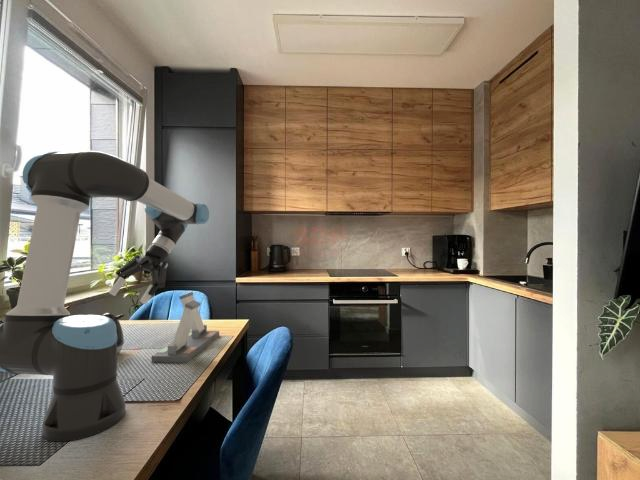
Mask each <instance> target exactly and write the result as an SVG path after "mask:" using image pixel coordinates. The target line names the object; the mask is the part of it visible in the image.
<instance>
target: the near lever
mask: <svg viewBox="0 0 640 480" xmlns="http://www.w3.org/2000/svg"><path fill="white" fill-rule="evenodd" d="M200 306H201V302H199V301H196V300H195V301H194V300H193V301H191V302H188V303H186V304H185V309H184V308H183V312H182V315H181V318H180V321H179V323H178V327H177V329H176V332H175V335H174V337H173V341H172V342H171V344H172V345H176V351H177V350H178V349H180V348H181V347H183V346H184V345H185V344H186V341H187V338H188V336H189V333H190V332H191V331H192V330H191V327H192V324H193V322H194V319H195V316H196V313H197V310H198V311H199V307H200Z"/></svg>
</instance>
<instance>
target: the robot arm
mask: <svg viewBox="0 0 640 480" xmlns="http://www.w3.org/2000/svg"><path fill="white" fill-rule="evenodd" d="M22 169H23V170H22V181H23V183H24V184H25V185H26V186H25V188H26V190H27V191H28V192H30V194H31V195H30V201H32V203H34V204H35V205H36V206H35V207H36V211H35V217H34V221H33V225H32V230H31V235H30V240H29V244H28V248H27V254H26V259H25V264H24V269H23V272H22V273H23V274H22V278H21V279H22V280H21V284H20V288H19V293H18V298H17V302H16V303H17V304H16V305H15V307H13V308H12V309H11V310H9V311H7V312H6V313H5V315H4V316H5V317H4V321H3V322H1V323H0V372H3V373H8V374H13V375H38V376H39V375H40V376H41V375H42V376H52V380H53V381H52V383H53V384H52V391H53V392H52V397H51V400H50V403H49V405H48V408H47V410H46V412H45V413H46V414H45V416H44V418H43V420H42V437H43V438H44V439H46V440H47V441H51V442H70V441H76V440H81V439H83V438H87V437H91V436H93V435H96V434H99V433H101V432H104V431H105V430H107V429H109V428H111V427H112V426H114V425H116V424H117V423H118V422H119V421H121V420H122V419H123V418H124V416H125V414H126V400H125V397H124V395H123V393H122V390H121V388H120V386H119V382H118V379H117V377H118V376H117V371H118V368H117V367H118V366H117V365H118V364H117V363H118V353H117V339H118V337H117V332H116V324H115V322H114V321H113V320H112V319H111V318H109V317H106V316H101V315H102V314H101V315H99V314H74V315H71V312H70V311H69V310H68V309H67V308H66V306H65V301H66V297H67V291H68V286H69V285H68V284H69V280H70V272H71V269H72V262H73V256H74V252H75V251H74V250H75V246H76V241H77V235H78V229H79V223H80V217H81V214H82V213H83V212H86V211H87V210H88V209H89V207H90V203H91V202H90V201H91V199H92V198H117V199H118V198H119V199H122V200H124V201H126V202H138V203H140V204H143V205H145V206H144V212H145V214H146V215H147V216H148V218H149V219H150V220H151V221H152V222H153V223H154V224H155V226H156V227H157V228H158V229H159V232H158V234H157V235H156V236H155V238H154V239H153V241H152V242H151V244H150V245H149V246H148V248H147V249H146V251H145V255H144V256H143V257H142V256H140V255H138V254H137V255H135V256H134V257H133V259H131V260H130V261H129V262H127V263H126V264H125V265H123V266H122V267H120V268H119V269H118V270H116V272H115V274H116V276H117V278H116V279H115V281H114V282H113V286H112V287H111V288H110V290H109V291H108V293H109V294H111V296H113V297H116V296H117V294H118V292H119V291H120V290H121V288H122V287H123V285H124V284H125V283H126V282H127V281H126V279H127V278H129V277H131V276H133V275H135V274H137V273H138V272H141V271H146V272H147V271H148V272H149V273H151V279H152V280H151V281H152V283H151V284H149V286H148V287H147V289H146V291H145V292H144V293H143V294H142V297H141V299H139V302H140V303H142V304H143V305H147V303H148V301H149V300H150V299H151V298H152V297H153V296H154V295H155V293H156V292H157V291H158V289H159V288H160V289H161V288H162V289H164V288H165V287H166V282H167V281H166V279H167V270H168V269H169V267H170V265H169V264H168V262H166V260H167V258H168V257H169V254H171V252H172V250H173V249H174V248H175V246H176V245H177V243H178V241H179V240H180V238H181V237H182V235H183V234H184V233H185V232H186V229H187V227H188V225H203V224H207V223H208V221H209V218H210V210H209V207H208V205H206V204H205V203H193V202H191V201H190V200H188V199H186V198H185V197H182V196H181V195H179V194H178V193H176V192H174V191H173V190H170V189H169V188H167V187H166V186H163V185H162V184H160V183H159V182H157V181H155V180H153V179H152V178H150V177H149V174H148V173H147V172H146V171H145V170H144V169H142V168H140V167H138V166H136V165H135V164H133V163H130V162H128V161H127V160H125V159H123V158H120V157H118V156H115V155H113V154H109V153H106V152H103V151H97V150H96V151H95V150H87V151H86V150H85V151H63V152H62V151H49V152H46V153H39V154H37V155H33V157H31V158H29V160H28V161H26V163H25V165H24V167H23V168H22Z"/></svg>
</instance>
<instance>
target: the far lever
mask: <svg viewBox="0 0 640 480" xmlns="http://www.w3.org/2000/svg"><path fill="white" fill-rule="evenodd" d="M178 298H179V300H180V302H181V305H182V307H183V310H184V309H185V304H186V303H188V302H191V301H193V300H194V301H196V300H195V297H194V292H193V291H191V292H188V293H185V294H182V295H180V296H179V297H178ZM204 325H205V324H204V322H203V319H202V317H201V314H200V312H199V309H198V310H197V313H196V316H195V319H194V322H193V324H192V327H191V330H190V331H192V330H199V335H200V334H201V333H203V332H204V329H205V328H204Z"/></svg>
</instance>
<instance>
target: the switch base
mask: <svg viewBox="0 0 640 480" xmlns="http://www.w3.org/2000/svg"><path fill="white" fill-rule="evenodd" d="M203 325H204V328H205V329H204V332H203V333H201V334H200V335H199V330H190V333H189V336H188V338H187V341H186V344H185V345H184V346H183V347H181V348H180V349H178V350H177V351H176V345H172V343H170V344H168V345H167V346H166V347H164V348H162V349H161V350H159V351H157V352H156V353H154V354H153V355H151V363H180V364H181V363H183V364H185V363H186V364H187V363H188V362H189V361H191V360H192V359H193V358H194V357H195V356H196V355H197V354H199V353H200V352H201V351H202V350H204V349H205V348H206V347H207V346H209V345H210V344H211V343H212V342H213V341H215V340H216V339H218V338H219V336H220V331H219V330H208V325H207V324H203Z"/></svg>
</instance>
